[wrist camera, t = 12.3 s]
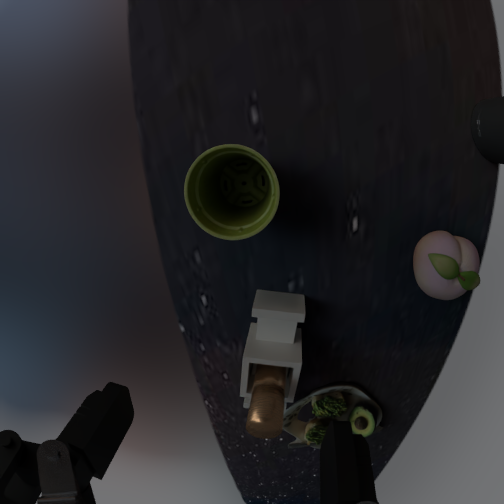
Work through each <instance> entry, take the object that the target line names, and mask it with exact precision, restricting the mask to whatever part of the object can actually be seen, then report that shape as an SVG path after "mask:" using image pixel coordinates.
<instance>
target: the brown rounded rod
mask: <svg viewBox="0 0 504 504" xmlns="http://www.w3.org/2000/svg"><path fill="white" fill-rule="evenodd" d="M285 383H286V367H283V366H274V365H265V364H257V367H256V373H255V378H254V384H253V390H252V395H251V401H250V407H249V412H248V418H247V423H246V430H247V431H248V432H249V433H250V434H251V435H253V436H255V437H258V438H263V439H269V438H274V437H277V436H278V435H280V434H281V433H282V430H283V417H284V401H285Z"/></svg>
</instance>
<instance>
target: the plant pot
mask: <svg viewBox="0 0 504 504" xmlns="http://www.w3.org/2000/svg"><path fill="white" fill-rule="evenodd" d="M242 162H244V163H247V165H241V166H236V164H239V163H242ZM261 175H262V176H264V179H265V186H262V177H261ZM225 180H226V181H227V188H228V191H226V190H225V188H224V181H225ZM244 181H245V182H246V185H242V182H244ZM184 195H185V201H186V205H187V208H188V210H189V212H190V214H191V216H192V217H193V219H194V220H195V222H196V223H197V224H198V225H199V226H200V227H201V228H202V229H203V230H205V231H206V232H207V233H209V234H211V235H213V236H215V237H218V238H221V239H226V240H239V239H245V238H248V237H251V236H253V235H255V234H257V233H258V232H260V231H261V230H263V229H264V228H265V227H266V226H267V225H268V224H269V222H270V221H271V220H272V218H273V217H274V215H275V213H276V211H277V208H278V204H279V197H280V190H279V183H278V179H277V176H276V174H275V172H274V170H273V168H272V166H271V165H270V164H269V162H268V161H267V160H266V159H265V158H264V157H263V156H262V155H260V154H259V153H258V152H256V151H255V150H253V149H251V148H248V147H246V146H242V145H236V144H226V145H220V146H216V147H213V148H211V149H209V150H207V151H206V152H204V153H203V154H201V155H200V156H199V157H198V158H197V159H196V160H195V161H194V163H193V164H192V165H191V167H190V169H189V171H188V173H187V176H186V180H185V185H184ZM249 200H253V201H252V202H251V203H246V204H244V203H242V201H249Z"/></svg>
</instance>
